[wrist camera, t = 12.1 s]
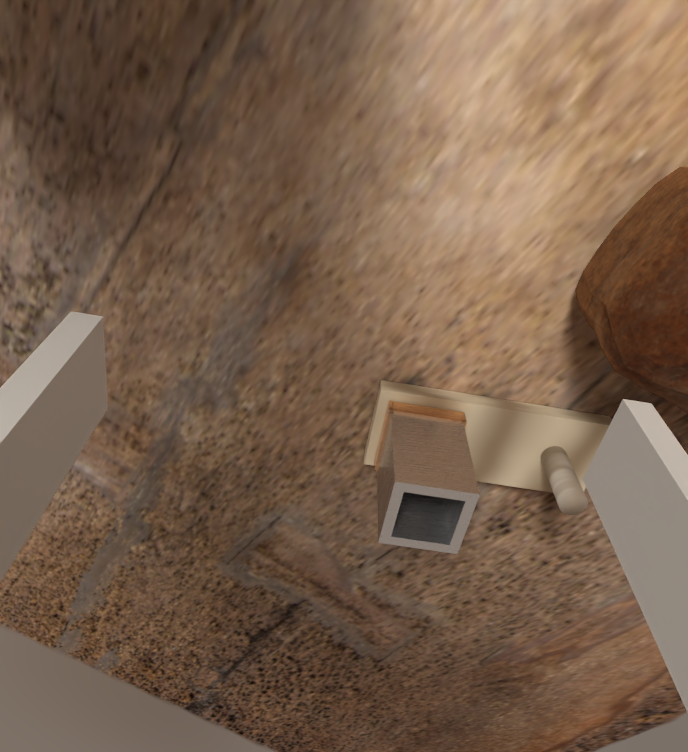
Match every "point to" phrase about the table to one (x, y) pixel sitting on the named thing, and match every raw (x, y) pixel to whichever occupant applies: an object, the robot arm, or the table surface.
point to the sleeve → (424, 478)
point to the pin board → (511, 439)
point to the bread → (645, 291)
